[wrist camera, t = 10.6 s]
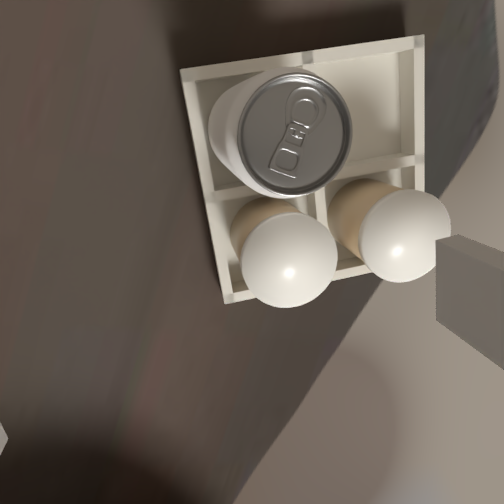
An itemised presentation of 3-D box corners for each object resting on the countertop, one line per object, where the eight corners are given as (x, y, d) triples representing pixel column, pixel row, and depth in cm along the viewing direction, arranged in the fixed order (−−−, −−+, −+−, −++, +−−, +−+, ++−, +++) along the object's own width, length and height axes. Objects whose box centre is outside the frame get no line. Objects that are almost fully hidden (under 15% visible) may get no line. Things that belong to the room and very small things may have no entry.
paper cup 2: (328, 257, 35) (365, 290, 28) (321, 183, 32) (360, 200, 26) (397, 242, 35) (449, 271, 29) (395, 169, 33) (452, 183, 27)
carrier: (221, 292, 34) (224, 304, 32) (179, 72, 28) (179, 69, 26) (408, 251, 36) (424, 260, 34) (405, 40, 31) (424, 34, 28)
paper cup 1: (234, 276, 34) (250, 316, 27) (221, 202, 31) (234, 225, 25) (308, 261, 34) (341, 296, 28) (300, 187, 32) (333, 206, 26)
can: (304, 102, 30) (382, 94, 19) (274, 184, 32) (330, 221, 21) (223, 68, 28) (256, 37, 17) (195, 157, 30) (209, 181, 19)
